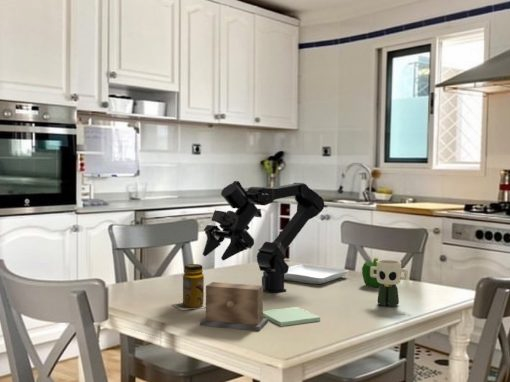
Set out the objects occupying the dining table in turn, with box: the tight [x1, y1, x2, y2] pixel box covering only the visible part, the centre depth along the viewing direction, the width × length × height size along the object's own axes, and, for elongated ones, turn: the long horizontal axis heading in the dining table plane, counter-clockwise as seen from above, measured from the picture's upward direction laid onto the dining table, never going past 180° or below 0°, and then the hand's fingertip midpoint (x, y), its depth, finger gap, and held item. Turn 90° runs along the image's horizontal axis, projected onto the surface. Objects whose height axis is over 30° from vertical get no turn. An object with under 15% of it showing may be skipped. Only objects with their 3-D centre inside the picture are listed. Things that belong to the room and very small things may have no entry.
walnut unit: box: [199, 281, 269, 332], centre depth 149 cm, size 16×8×10 cm, turn 74°
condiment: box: [171, 263, 206, 311], centre depth 166 cm, size 7×8×12 cm
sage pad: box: [263, 306, 321, 327], centre depth 155 cm, size 12×12×1 cm
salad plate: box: [284, 263, 350, 285], centre depth 209 cm, size 21×21×3 cm
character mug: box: [370, 259, 409, 307], centre depth 170 cm, size 11×7×13 cm, turn 69°
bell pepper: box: [361, 257, 381, 288], centre depth 197 cm, size 8×8×10 cm
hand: (212, 257), depth 171 cm, fingers open, 9 cm apart
